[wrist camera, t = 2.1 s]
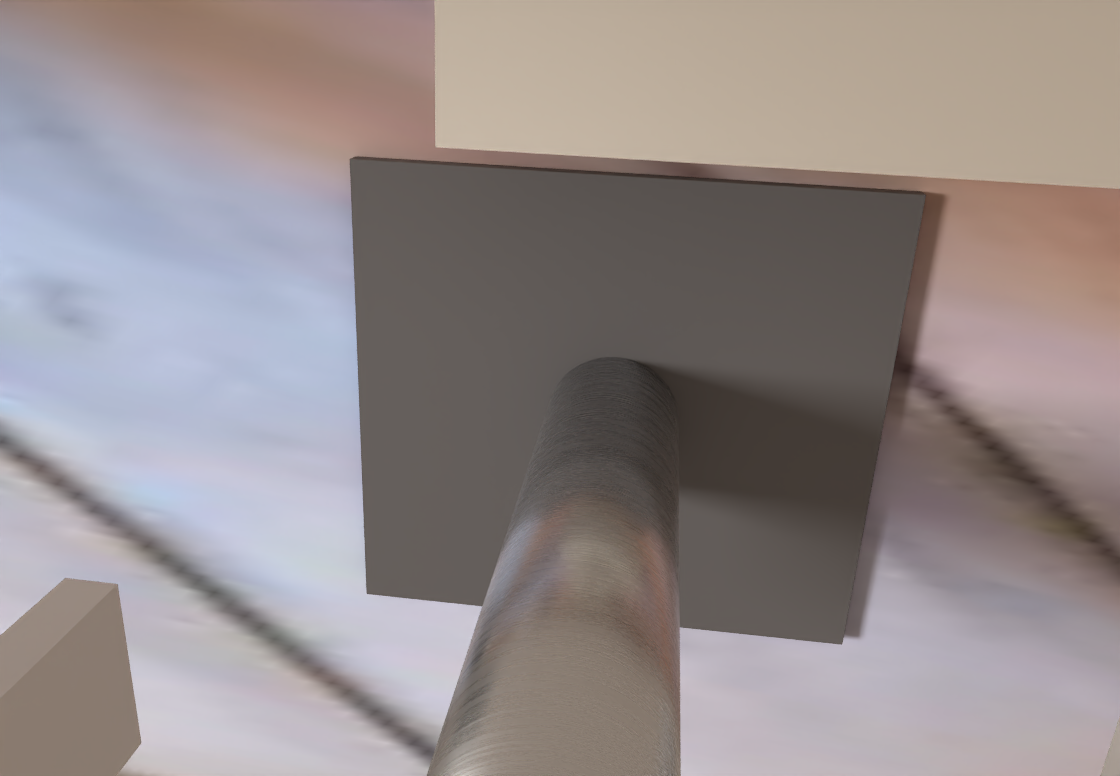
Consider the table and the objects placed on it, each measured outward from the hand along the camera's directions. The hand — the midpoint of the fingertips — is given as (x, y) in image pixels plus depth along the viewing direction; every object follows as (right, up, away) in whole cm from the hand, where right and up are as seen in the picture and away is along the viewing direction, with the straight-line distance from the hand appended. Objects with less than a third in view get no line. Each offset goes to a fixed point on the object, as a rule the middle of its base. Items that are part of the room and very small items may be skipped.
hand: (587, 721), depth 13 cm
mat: (+1, +4, +9) cm, 10 cm away
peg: (+1, +4, +9) cm, 10 cm away
